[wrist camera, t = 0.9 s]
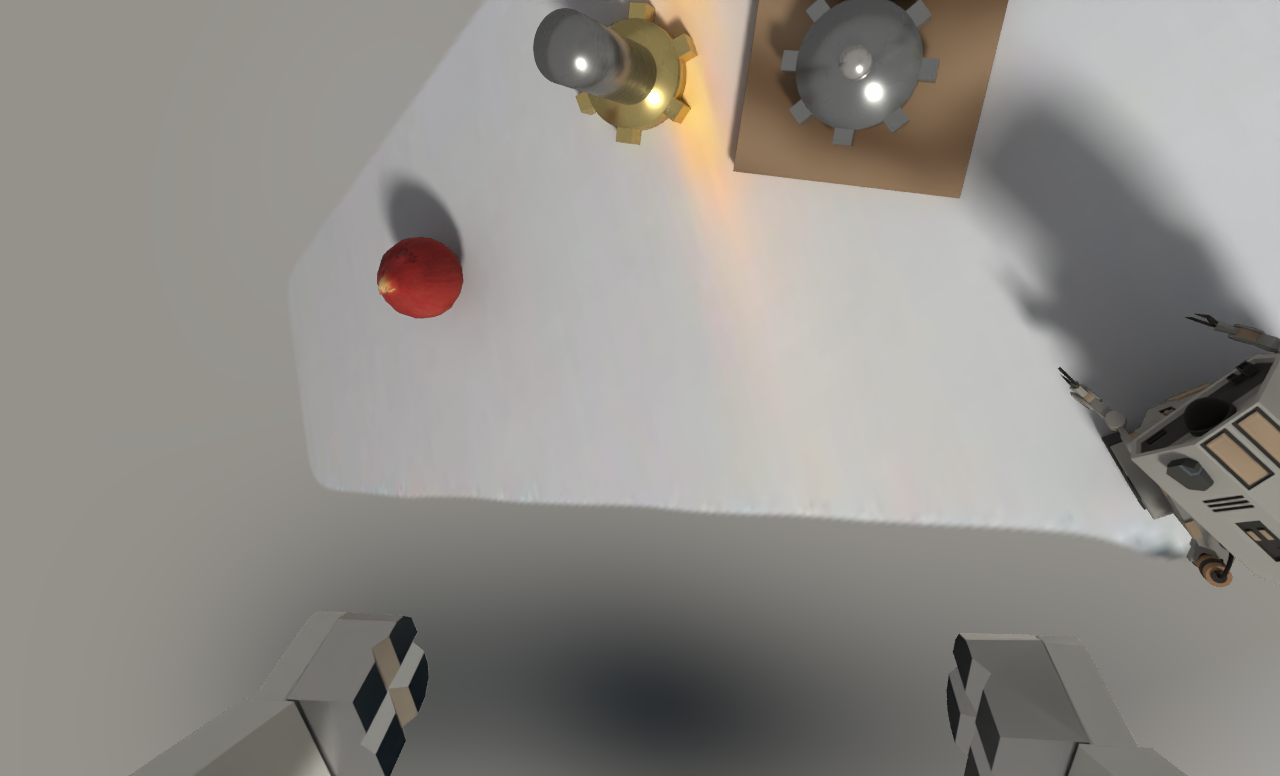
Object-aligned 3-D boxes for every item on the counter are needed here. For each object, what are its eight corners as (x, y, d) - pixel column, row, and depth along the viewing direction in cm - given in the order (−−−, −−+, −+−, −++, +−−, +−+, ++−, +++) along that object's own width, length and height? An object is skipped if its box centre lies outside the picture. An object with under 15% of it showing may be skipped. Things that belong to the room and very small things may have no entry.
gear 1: (593, 6, 45) (506, -42, 37) (703, 10, 43) (638, -41, 34) (582, 138, 48) (497, 122, 39) (685, 150, 45) (620, 136, 36)
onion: (412, 258, 56) (333, 266, 49) (460, 221, 53) (384, 223, 46) (446, 323, 56) (373, 340, 49) (496, 289, 53) (426, 301, 46)
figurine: (1229, 265, 36) (1395, 301, 22) (1345, 461, 35) (1581, 614, 22) (1044, 350, 40) (1090, 423, 26) (1147, 526, 40) (1245, 687, 26)
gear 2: (804, -10, 39) (792, -27, 36) (957, -7, 36) (957, -25, 34) (778, 140, 42) (766, 135, 39) (920, 154, 39) (917, 150, 36)
